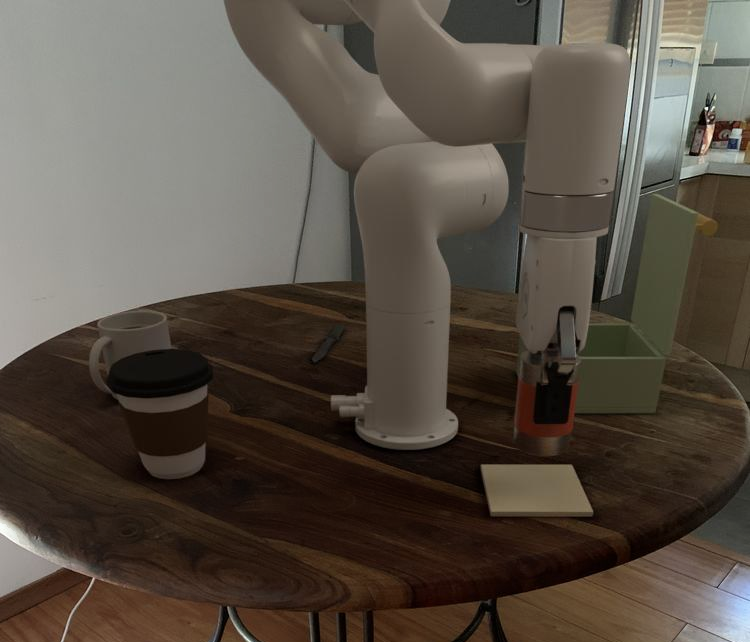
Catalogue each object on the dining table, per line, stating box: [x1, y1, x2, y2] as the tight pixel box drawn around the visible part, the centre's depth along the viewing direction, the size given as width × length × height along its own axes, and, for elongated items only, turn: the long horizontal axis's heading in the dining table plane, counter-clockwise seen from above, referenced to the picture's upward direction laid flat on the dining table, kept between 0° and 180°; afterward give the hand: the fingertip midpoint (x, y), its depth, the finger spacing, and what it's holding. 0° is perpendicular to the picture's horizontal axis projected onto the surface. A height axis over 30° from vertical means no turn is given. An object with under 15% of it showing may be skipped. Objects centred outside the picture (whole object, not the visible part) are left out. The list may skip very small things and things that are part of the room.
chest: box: [516, 322, 667, 414], centre depth 98 cm, size 16×15×7 cm
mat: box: [480, 464, 594, 518], centre depth 76 cm, size 10×10×1 cm
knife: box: [311, 322, 346, 364], centre depth 118 cm, size 18×1×3 cm
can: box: [512, 348, 581, 457], centre depth 71 cm, size 6×6×9 cm
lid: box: [630, 193, 718, 356], centre depth 92 cm, size 16×15×5 cm
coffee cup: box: [105, 348, 214, 480], centre depth 79 cm, size 11×11×12 cm
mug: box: [88, 310, 172, 401], centre depth 99 cm, size 11×10×10 cm
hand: (543, 407), depth 72 cm, fingers closed on can, 5 cm apart
